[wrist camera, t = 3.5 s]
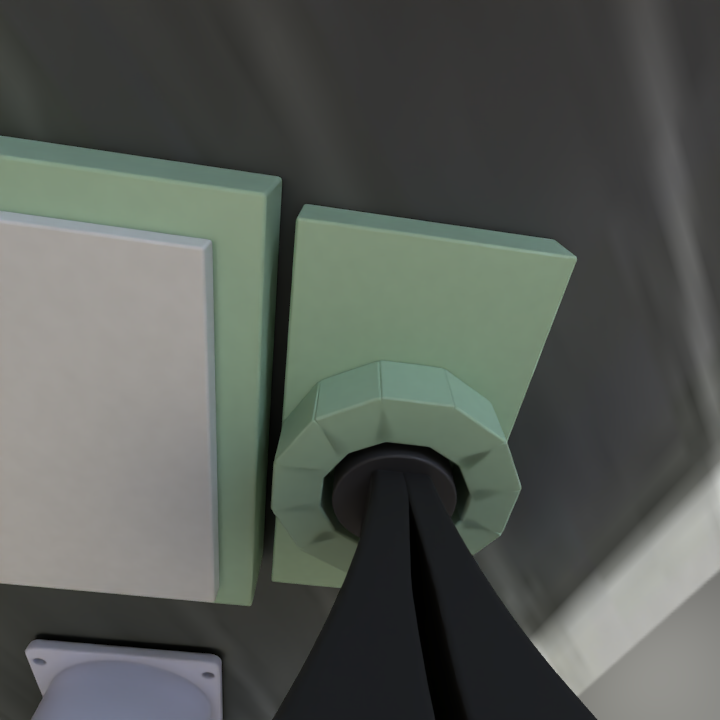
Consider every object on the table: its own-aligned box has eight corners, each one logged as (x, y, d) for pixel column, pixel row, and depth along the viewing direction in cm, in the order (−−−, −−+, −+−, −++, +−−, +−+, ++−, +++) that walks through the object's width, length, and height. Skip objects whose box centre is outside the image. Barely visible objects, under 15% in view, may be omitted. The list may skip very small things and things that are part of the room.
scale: (263, 554, 17) (247, 625, 15) (-115, 517, 16) (-193, 586, 14) (283, 176, 10) (260, 200, 8) (-347, 83, 10) (-566, 81, 7)
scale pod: (442, 563, 17) (455, 648, 14) (277, 546, 17) (261, 631, 14) (556, 238, 11) (615, 284, 8) (303, 202, 11) (283, 238, 8)
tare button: (433, 504, 13) (441, 550, 12) (329, 493, 13) (325, 539, 12) (459, 421, 12) (471, 464, 10) (342, 407, 12) (339, 449, 10)
